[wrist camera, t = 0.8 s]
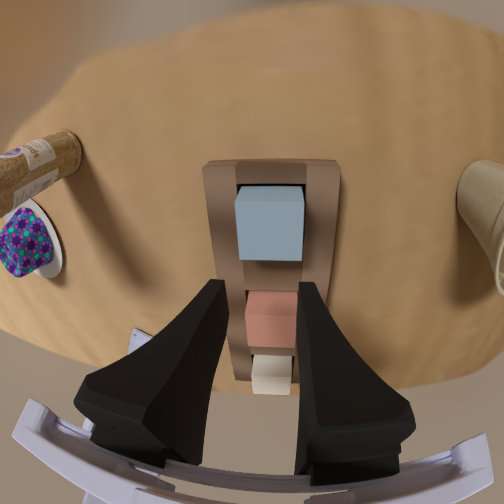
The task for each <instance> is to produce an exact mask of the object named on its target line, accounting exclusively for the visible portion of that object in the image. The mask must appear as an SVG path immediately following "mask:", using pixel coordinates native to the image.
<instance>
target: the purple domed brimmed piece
mask: <svg viewBox="0 0 504 504" xmlns="http://www.w3.org/2000/svg"><path fill="white" fill-rule="evenodd" d="M21 206H26V207H29V208H31V209H32V210H34V211H35V212H36V213H37V214H38V215H39V216H40V218H41V219H42V220H43V221H42V220H41V219H40V218H37V217H36V216H35V214H34V212H33V211H32V210H31V209H29V208H26V209H25V210H22V209H21V208H20V209H18V208H19V207H21ZM17 209H18V210H17ZM16 210H17V211H16ZM43 222H44V223H45V224H44V223H43ZM45 225H46V226H45ZM46 227H47V229H48V231H49V233H50V235H51V238H52V240H51V238H50V237H49V236H48V234H47V230H46ZM52 241H53V243H52ZM53 246H54V258H53V256H52V253H51V250H52V249H53ZM52 258H53V260H52ZM0 260H1V262H2V263H3V264H4V265H5V267H6V269H7V270H8V271H9V272H10V273H12V274H13V275H14V276H15V277H18V278H19V277H23V276H25V275H27V274H29V273H31V272H32V271H33V272H35V273H36V274H38V275H40V276H42V277H45V278H54V277H56V276H57V275H58V274H59V273H60V271H61V268H62V252H61V247H60V244H59V241H58V238H57V235H56V233H55V231H54V229H53V227H52V225H51V223H50V221H49V219H48V218H47V216H46V215H45V213H44V212H43V211H42V209H41V208H40V207H39V206H38V205H37V204H36V203H35V202H34V201H33V200H32V199H29V200H27V201H26V202H24V203H23V204H21V205H20V206H18V207H17V208H16V209H14V210H13V211H11V212H10V213H8V214H6V215H5V226H4V228H3V229H2V230H1V232H0ZM51 260H52V262H51V263H50V264H47V263H49V262H50V261H51ZM45 264H47V265H45Z"/></svg>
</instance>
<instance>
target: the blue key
mask: <svg viewBox="0 0 504 504" xmlns="http://www.w3.org/2000/svg"><path fill="white" fill-rule="evenodd" d="M235 214H236V225H237V237H238V248H239V259H240V260H283V261H302V245H303V223H304V198H303V192H302V186H242V187H241V189H240V191H239V193H238V195H237V198H236V200H235Z"/></svg>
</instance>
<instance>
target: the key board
mask: <svg viewBox="0 0 504 504" xmlns="http://www.w3.org/2000/svg"><path fill="white" fill-rule="evenodd" d="M340 170H341V167H340V166H339V165H338V163H337V162H336V161H335V160H317V159H241V160H219V161H209V162H208V163H207V164H206V165H205V166H204V167H203V168H202V172H203V180H204V188H205V196H206V204H207V212H208V219H209V226H210V234H211V241H212V247H213V254H214V261H215V267H216V274H217V279H220V280H225V286H226V293H227V300H228V307H229V313H230V315H229V321H228V328H227V338H228V344H229V349H230V354H231V360H232V365H233V370H234V375H235V380H241V381H252V378H251V373H252V366H253V359H254V355H273V356H293V365H292V373H291V383H300V380H299V367H298V355H297V344H296V339H295V348H281V347H256V346H248V341H247V331H246V321H245V310H246V305H247V300H248V294H249V290H262V291H298V286H299V282H314V283H315V284H316V286H317V289H318V291H319V293H320V296H321V298H322V300H323V302H324V304H325V305H326V298H327V292H328V286H329V279H330V272H331V265H332V257H333V249H334V240H335V231H336V222H337V211H338V199H339V186H340ZM255 183H292V184H304V223H303V245H302V261H283V260H240V259H239V248H238V237H237V225H236V214H235V200H236V198H237V195H238V193H239V191H240V189H241V184H255Z"/></svg>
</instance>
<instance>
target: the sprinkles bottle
mask: <svg viewBox="0 0 504 504" xmlns="http://www.w3.org/2000/svg"><path fill="white" fill-rule="evenodd" d="M81 154H82V151H81V146H80V143H79V141H78V139H77V137H76V136H75V134H73V133H72V132H70V131H69V130H60V131H57V132H56V133H55V134H52V135H49V136H46V137H44V138H41V139H37V140H34V141H32V142H30V143H27V144H25V145H22V146H20V147H18V148H16V149H13V150H11V151H9V152H7V153H5V154H3V155H1V156H0V218H2V217H3V216H4V215H6V214H8V213H10V212H11V211H13V210H14V209H16V208H17V207H18V206H20V205H21V204H23V203H24V202H26V201H27V200H29V199H30V198H32V197H33V196H35V195H37V194H38V193H40V192H41V191H43V190H45V189H46V188H48V187H49V186H51V185H52V184H53V183H54V182H56V181H58V180H59V179H61V178H63V177H65V176H68V175H71V174H73V173H74V172H75V171H76V170H77V169H78V167H79V165H80V162H81Z"/></svg>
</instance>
